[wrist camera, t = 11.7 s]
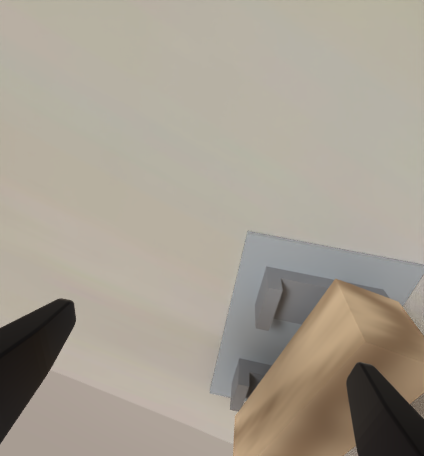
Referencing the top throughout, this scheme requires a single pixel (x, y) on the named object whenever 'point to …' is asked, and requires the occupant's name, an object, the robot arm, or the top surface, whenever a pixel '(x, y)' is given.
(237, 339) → the mount board
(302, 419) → the oak rail
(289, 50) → the top surface
